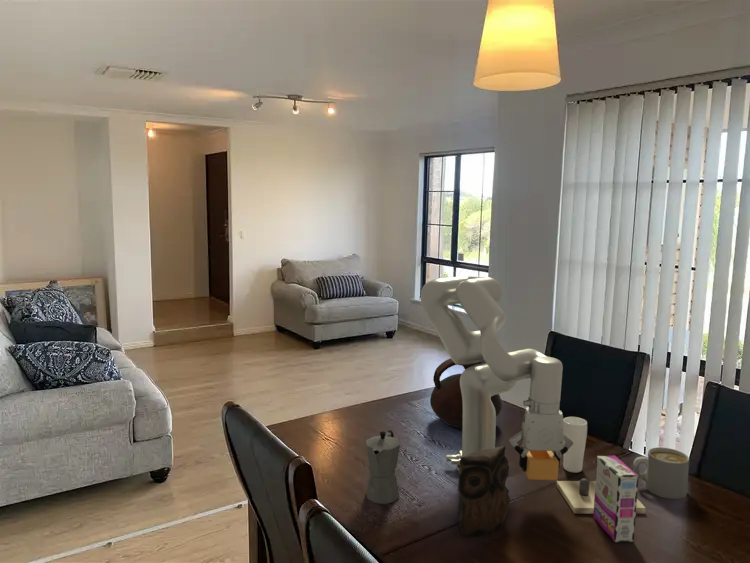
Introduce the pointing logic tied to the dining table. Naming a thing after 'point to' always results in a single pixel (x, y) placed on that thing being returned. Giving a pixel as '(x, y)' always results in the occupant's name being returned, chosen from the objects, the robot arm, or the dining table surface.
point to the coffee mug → (665, 472)
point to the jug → (452, 396)
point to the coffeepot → (382, 468)
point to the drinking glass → (575, 443)
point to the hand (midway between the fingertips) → (538, 469)
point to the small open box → (542, 465)
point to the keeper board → (583, 496)
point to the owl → (483, 492)
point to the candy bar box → (615, 498)
